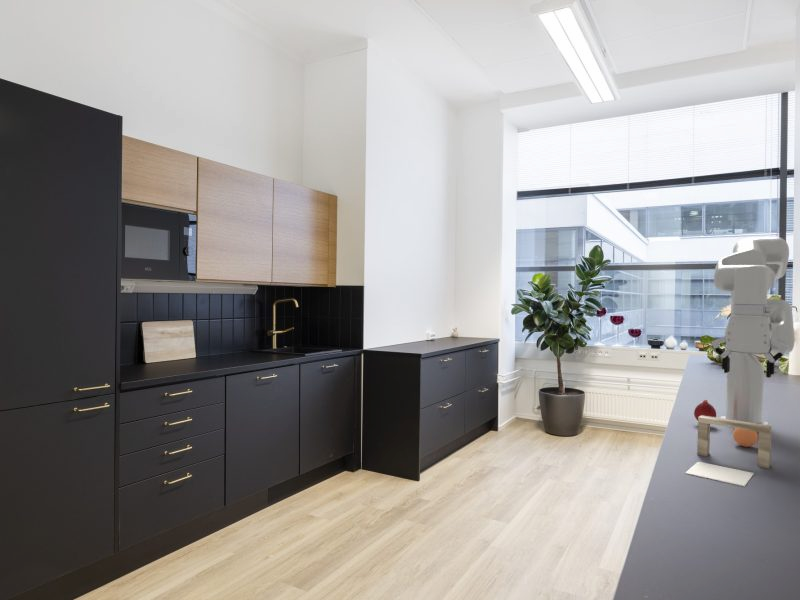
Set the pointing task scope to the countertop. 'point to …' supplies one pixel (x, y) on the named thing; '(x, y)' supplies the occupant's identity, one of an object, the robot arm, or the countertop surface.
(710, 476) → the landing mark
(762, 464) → the bridge
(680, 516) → the countertop surface
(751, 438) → the ball
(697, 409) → the onion
